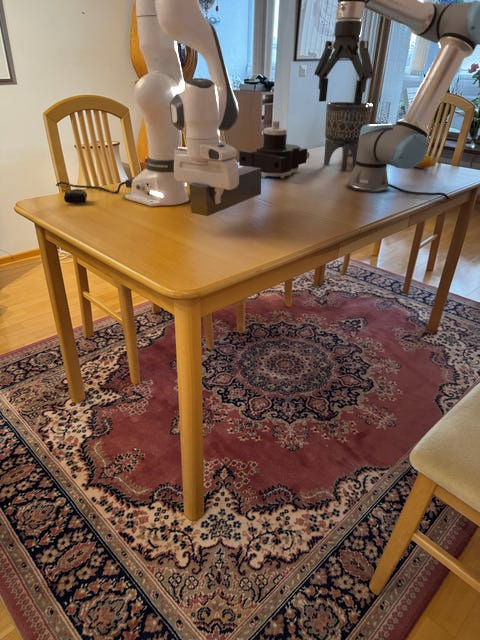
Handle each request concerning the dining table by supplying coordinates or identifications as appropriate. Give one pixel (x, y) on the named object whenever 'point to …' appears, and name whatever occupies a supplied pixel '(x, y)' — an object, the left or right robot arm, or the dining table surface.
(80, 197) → the tape measure
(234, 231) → the dining table surface
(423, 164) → the toy
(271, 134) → the mechanical component
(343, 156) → the planter
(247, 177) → the bar
